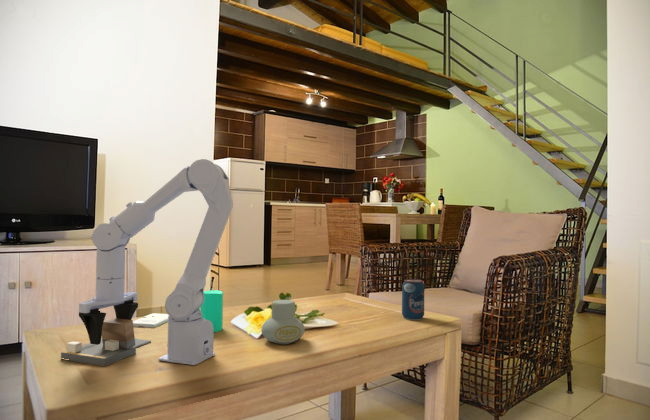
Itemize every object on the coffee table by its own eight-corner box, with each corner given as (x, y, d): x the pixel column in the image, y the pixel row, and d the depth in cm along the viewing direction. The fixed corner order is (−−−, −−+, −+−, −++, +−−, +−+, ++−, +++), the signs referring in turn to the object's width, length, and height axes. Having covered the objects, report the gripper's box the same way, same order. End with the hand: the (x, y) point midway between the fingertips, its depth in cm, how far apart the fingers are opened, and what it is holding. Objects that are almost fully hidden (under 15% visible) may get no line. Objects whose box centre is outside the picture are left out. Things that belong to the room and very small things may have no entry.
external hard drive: (175, 319, 136) (154, 329, 123) (151, 318, 137) (127, 328, 124) (175, 314, 136) (154, 323, 123) (151, 313, 137) (127, 322, 124)
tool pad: (150, 342, 109) (150, 340, 109) (133, 348, 104) (133, 347, 104) (112, 337, 113) (112, 335, 113) (93, 343, 107) (93, 342, 107)
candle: (206, 333, 118) (207, 288, 118) (196, 329, 123) (197, 285, 123) (226, 329, 122) (227, 286, 122) (216, 325, 126) (216, 283, 127)
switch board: (135, 353, 100) (135, 346, 100) (104, 366, 92) (104, 358, 92) (94, 347, 104) (94, 341, 104) (60, 359, 96) (61, 352, 96)
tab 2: (118, 348, 98) (119, 340, 98) (113, 350, 97) (113, 342, 97) (110, 347, 99) (110, 339, 99) (104, 349, 98) (104, 341, 98)
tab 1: (81, 350, 97) (81, 342, 97) (75, 352, 95) (75, 344, 95) (73, 349, 97) (73, 341, 98) (66, 351, 96) (66, 343, 96)
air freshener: (265, 347, 106) (266, 306, 106) (258, 338, 114) (258, 300, 114) (308, 343, 110) (309, 303, 110) (298, 335, 118) (298, 297, 118)
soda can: (412, 321, 135) (413, 282, 135) (397, 317, 140) (397, 279, 140) (428, 319, 138) (429, 280, 138) (413, 314, 144) (413, 278, 144)
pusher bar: (135, 344, 100) (132, 320, 99) (127, 349, 98) (124, 324, 97) (111, 341, 103) (108, 317, 102) (103, 346, 100) (99, 321, 99)
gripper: (120, 272, 106) (119, 329, 106) (68, 281, 92) (66, 346, 92) (144, 274, 103) (143, 332, 103) (94, 283, 90) (93, 350, 90)
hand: (109, 339), depth 97 cm, fingers open, 7 cm apart
